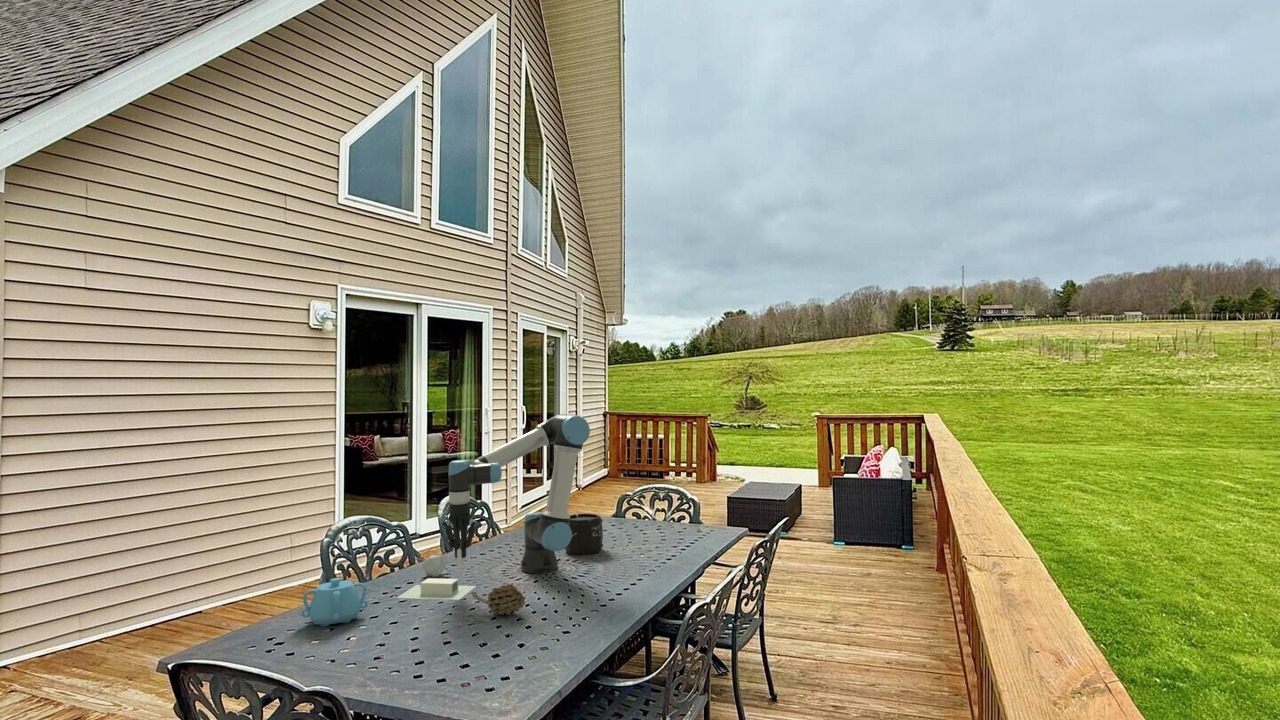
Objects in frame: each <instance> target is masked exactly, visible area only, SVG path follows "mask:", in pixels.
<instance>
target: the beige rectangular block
mask: <svg viewBox="0 0 1280 720" xmlns="http://www.w3.org/2000/svg"><path fill="white" fill-rule="evenodd" d="M419 585H421V594H437V595H452V594H453V593H455V592H456V591H457V590H458V586H459V578H437V577H435V578H434V577H431V578H426V579H424V580H423V581H422V582H420V584H419Z"/></svg>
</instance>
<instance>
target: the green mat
mask: <svg viewBox="0 0 1280 720" xmlns="http://www.w3.org/2000/svg"><path fill="white" fill-rule="evenodd" d="M476 587H477V585H458V590H457V591H456V592H455V593H453V594H452V595H437V594H421V584H416V585H414V586H412V587H411V588H409V589H407V591H405V592H403V593H402V594H400V595H398V596H396V598H395V599H397V600H398V599H416V600H417V599H418V600H419V599H420V600H455V601H457V600H461V599H463V598H464V597H465V596H466V595H467V594H468V593H470V592H471V591H473V590H474V589H475V588H476Z"/></svg>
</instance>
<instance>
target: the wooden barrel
mask: <svg viewBox="0 0 1280 720" xmlns="http://www.w3.org/2000/svg"><path fill="white" fill-rule="evenodd" d="M569 517H570V521H569V527H570V529H571V531H572V537H571V541H570V543H569V544H568V545H567V546H566V547H565V548H564V549H563V550H565V552H566V554H568V555H570V556H576V557H577V556H578V557H581V556H582V557H583V556H592V555H596V554H599V553H600V552H601V550H602V549H603V547H604V544H603V538H604V535H603V522H604V520H603V519H602V518H601V515H599V514H596V513H577V514H576V513H575V514H574V513H573V514H572V515H569Z"/></svg>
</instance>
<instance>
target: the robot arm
mask: <svg viewBox="0 0 1280 720" xmlns="http://www.w3.org/2000/svg"><path fill="white" fill-rule="evenodd" d="M590 433H591V428H590V424H589V423H588V421H587V420H586V419H585V418H584V417H582V416H580V415H576V414H566V413H565V414H563V413H561V414H558V415H555V416H552V417H550V418H549V419H547V420H545V421H543V422H542V423H540V424H539V423H538V424H537V425H535V428H534V429H533V430H531V431H529V432H527V433H524V434H523V435H521V436H518V437H517V438H515V439H513V440H511V441H509V442H507V443H505V444H502V445H501V446H500V447H497V448H495V449H493V450H492V451H490V452H488V453H486V454H485V453H484V455H481V456H479V457H477V458H475V459H469V460H468V459H462V460H461V459H460V460H459V459H457V460H451V461H450V462H449V463H448V473H447V474H448V502H449V505H448V508H449V509H448V512H449V516H448V517H447V518H448V519H446V520H445V521H442V525H443V527H444V528H445V533H446V537H447V541H448V545H449V547H450V548H453V549H454V557H455V558H456V560H457V561H456V563H457V565H456V566H457V568H459V569H461V568H463V567H464V566H465V558H466V557H467V549H468V548H469V547H471V546H472V543H473V540H474V539H473V538H474V533H475V529H476V526H477V525H478V520H474V519H473V518H472V516H471V503H470V501H471V499H470V498H471V494H470V493H471V490H470V489H471V486H475V485H484V484H493V483H495V484H496V483H499V482H500V481H501V479H502V477H503V476H502V473H503V472H502V467H504V466H506V465H508V464H511V463H512V462H513V461H516V460H517V459H520V458H522V457H523V456H526V455H527V454H529V453H530V452H531V453H532V452H533V451H535V450H537V449H539V448H541V447H542V446H544V447H548V446H550V445H552V444H553V446H554V448H555V450H556V452H555V453H556V454H555V458H554V462H553V463H554V464H553V470H552V474H551V482H550V485H549V491H548V496H547V497H548V498H547V501H546V507H545V510H544V511H540V512H539V511H538V512H532V513H527V514H526V515H524V521H523V524H524V526H523V527H524V528H523V529H524V552H523V556H522V559H521V562H520V571H521V572H524V573H529V574H543V573H549V572H552V571H554V570H555V571H556V570H557V569H558V560H557V556H556V554H555V552H560V551H562V550H565V549H564V548H565V547H566V546H567V545H568V544H569V543H570V541H571V537H572V531H571V529H570V527H569V521H570V517H569V516H570V515H569V513H568V510H569V504H570V499H571V493H572V486H573V481H574V476H575V469H576V463H577V459H578V454H579V453H580V452H582V451H583V448H584V447H583V446H584V443H586V441H588V439H589V438H590ZM468 525H469V528H468ZM452 527H453V529H452ZM467 529H468V533H467Z"/></svg>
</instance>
